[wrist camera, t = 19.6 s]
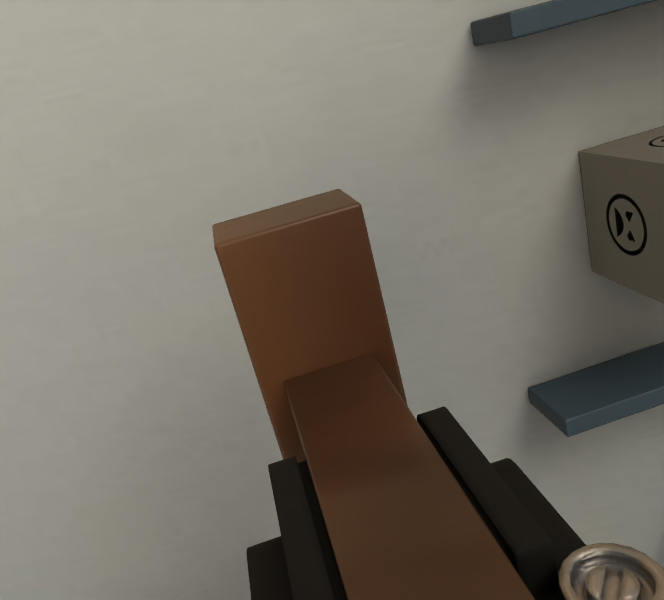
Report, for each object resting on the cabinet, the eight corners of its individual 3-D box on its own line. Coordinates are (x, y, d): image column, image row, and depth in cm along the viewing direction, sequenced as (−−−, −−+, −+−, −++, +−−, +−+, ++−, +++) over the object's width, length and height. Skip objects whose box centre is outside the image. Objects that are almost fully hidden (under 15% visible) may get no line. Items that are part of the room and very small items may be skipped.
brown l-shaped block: (315, 541, 18) (461, 1102, 8) (210, 216, 15) (240, 494, 5) (411, 508, 19) (666, 1008, 9) (331, 181, 15) (605, 371, 5)
